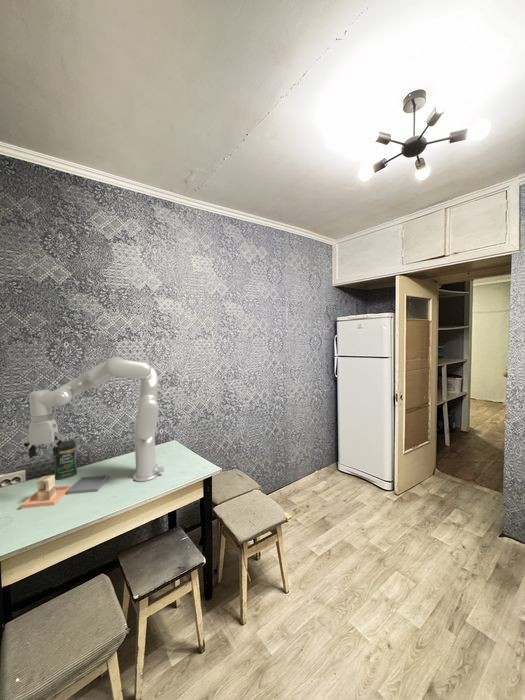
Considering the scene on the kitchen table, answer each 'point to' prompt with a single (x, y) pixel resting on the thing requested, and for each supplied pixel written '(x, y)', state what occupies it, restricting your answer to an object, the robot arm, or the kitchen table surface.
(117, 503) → the kitchen table surface
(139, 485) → the kitchen table surface
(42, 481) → the notched wooden block
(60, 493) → the terracotta dish
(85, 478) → the charcoal tray
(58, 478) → the coffee jar
